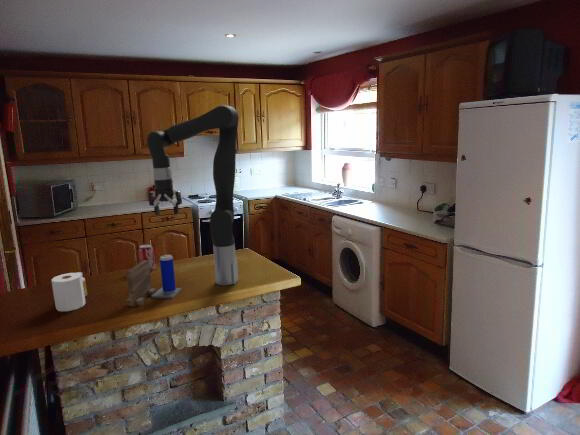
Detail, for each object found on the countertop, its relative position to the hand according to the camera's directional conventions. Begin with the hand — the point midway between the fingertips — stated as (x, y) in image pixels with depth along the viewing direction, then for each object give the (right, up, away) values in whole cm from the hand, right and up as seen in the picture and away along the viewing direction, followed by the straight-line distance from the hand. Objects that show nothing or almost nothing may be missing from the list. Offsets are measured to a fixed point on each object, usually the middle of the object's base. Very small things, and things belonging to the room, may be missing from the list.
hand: (166, 214), depth 187 cm
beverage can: (+4, -32, -10) cm, 34 cm away
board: (-6, -34, -16) cm, 38 cm away
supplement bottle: (-33, -34, -10) cm, 49 cm away
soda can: (-15, -27, +20) cm, 37 cm away
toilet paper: (-32, -36, -20) cm, 52 cm away
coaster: (+3, -33, -11) cm, 35 cm away
